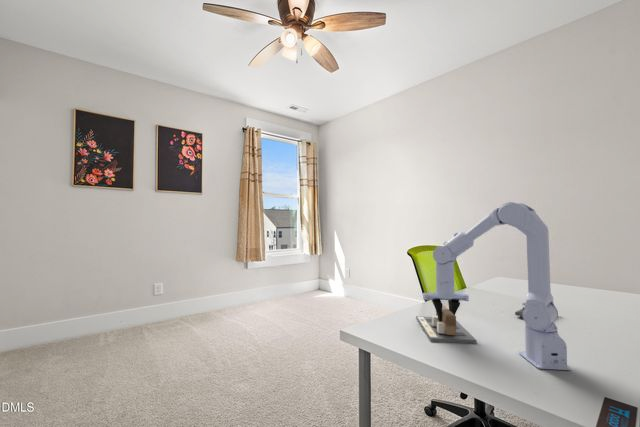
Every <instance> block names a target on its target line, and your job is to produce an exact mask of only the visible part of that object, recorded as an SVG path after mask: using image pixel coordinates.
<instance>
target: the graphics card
mask: <svg viewBox="0 0 640 427" xmlns="http://www.w3.org/2000/svg"><path fill="white" fill-rule="evenodd" d="M525 308H526V302H522V308H521V309H519V310H516V311H515V312H514V316H519V317H520V318H523V311H524V309H525Z"/></svg>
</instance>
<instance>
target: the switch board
mask: <svg viewBox="0 0 640 427" xmlns="http://www.w3.org/2000/svg"><path fill="white" fill-rule="evenodd" d="M415 319H417V320H418V321H417V320H416V321H417V323H418V322H419V323H418V324H419V326H420V325H421V326H420V327H421V329H422V330H424V331H423V332H424V334H425V335H426V337H427V339H428V340H429V342H433V343H434V342H436V343H439V342H440V343H456V344H457V343H461V344H478V342H477V340H478V339H476V338H475V336H473V335H472V334H471V333H470V332H469V331H468V330H467V329H466V328H465V327H464V326H463V325H461V323H460V322H459V321H457V320H456V335H446V334H444V333H438V332H437V326H433V325H432V316H421V315H420V316H419V315H418V316H415Z"/></svg>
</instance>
